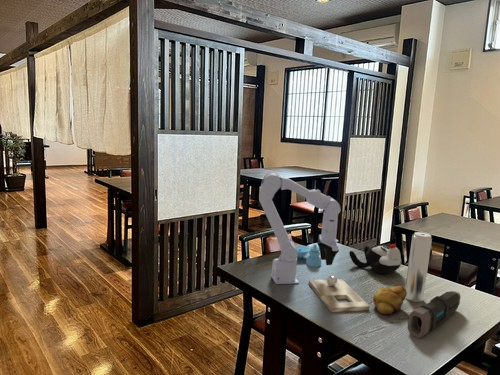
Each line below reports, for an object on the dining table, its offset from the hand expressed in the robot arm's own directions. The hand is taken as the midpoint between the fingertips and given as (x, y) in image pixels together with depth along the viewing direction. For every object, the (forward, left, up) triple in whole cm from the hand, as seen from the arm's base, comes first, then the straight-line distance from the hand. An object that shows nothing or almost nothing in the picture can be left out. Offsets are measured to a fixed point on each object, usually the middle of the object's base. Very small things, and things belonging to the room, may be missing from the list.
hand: (326, 262), depth 143 cm
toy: (+29, +11, -9) cm, 32 cm away
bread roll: (+14, -22, -9) cm, 28 cm away
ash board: (0, -12, -8) cm, 15 cm away
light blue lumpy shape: (0, +24, -9) cm, 26 cm away
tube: (+26, -32, -9) cm, 42 cm away
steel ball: (0, -7, -5) cm, 9 cm away
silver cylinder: (+29, -16, -9) cm, 34 cm away
